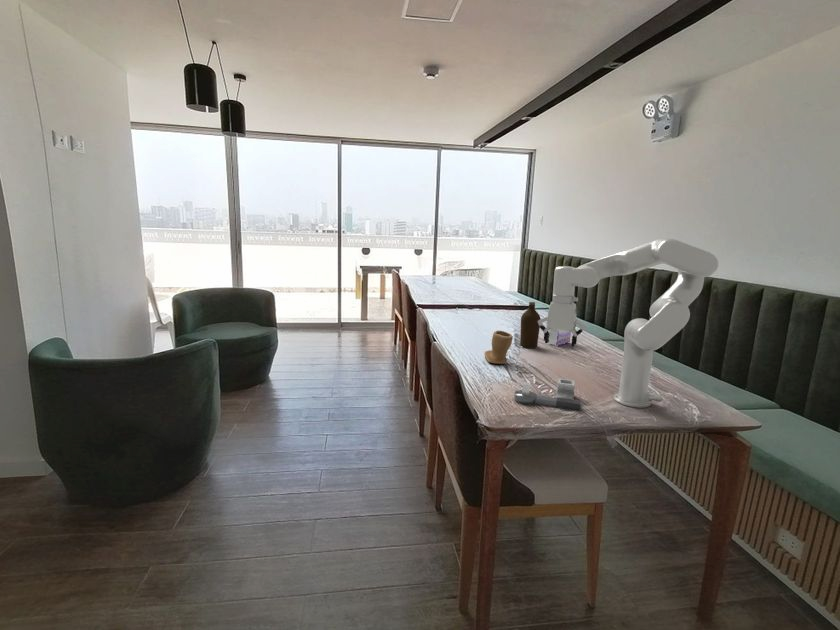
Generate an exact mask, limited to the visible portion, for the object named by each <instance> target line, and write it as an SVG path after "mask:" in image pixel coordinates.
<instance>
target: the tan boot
mask: <svg viewBox="0 0 840 630" xmlns="http://www.w3.org/2000/svg"><path fill="white" fill-rule="evenodd" d="M513 337H514V336H513V335H512V333H510V332H507V331H505V330H495V331H494V332H493V334H492V337H491V350H485V351H484V356H485V359H486V360H487V361H488V362H489V363H492V364H494V365H497V364H499V365H504V364H507V362H508V359H507V354H508V351H509V349H510V347H511V346H512V344H513V339H514V338H513Z"/></svg>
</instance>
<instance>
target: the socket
mask: <svg viewBox="0 0 840 630" xmlns="http://www.w3.org/2000/svg"><path fill="white" fill-rule="evenodd" d="M556 385H557V386H556V397H555V398H557V397H559V398H566V399H573V400H574V396H575V387H576V383H575V380H574V379H573V380H572V379H568V378H567V379H565V378H557V384H556Z"/></svg>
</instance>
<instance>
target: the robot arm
mask: <svg viewBox="0 0 840 630" xmlns="http://www.w3.org/2000/svg"><path fill="white" fill-rule="evenodd" d="M662 264H665V265H668V266H669V267H672V268H675V269H677V278H676V279H675V282H674V283H673V284H672V285H671V286H670V287H669V288H668V289H667V290H666V291H665V292H664V293H663V294H662V295H661V296H659V297H658V298H656V300H655V301H653V303H652V304H651V306H650V307H649V315H650V317H651V318H649V320H648V319H646V318H642V317H640V318H638V317H637V318H633V319H632V320H630V321H628V323H627V324H626V326H625V329H624V333H623V334H624V336H623V338H624V339H623V342H624V344H623V345H624V346H623V348H624V349H623V356H622V363H621V365H622V366H621V371H620V378H619V379H620V381H619V386H618V387H619V389H618V392H617V393H614V395H613V400H615V402H617V403H618V404H621V405H624V406H627V407H632V408H639V409H641V408H643V409H644V408H648V407H650V406H651V405H652V402H653V401H655V402H661V403H662V399H663V397H662V396H661V395H657V394H655V393H650V392H649V385H650V380H651V379H650V378H651V371H652V364H653V356H654V351H656V350H658V349H660V348H662V347H663V346H664V345H665V344H667V343H668V342H669V341H670V340H671V339H672V338H673V337H675V336H676V335H677V334H678V333H680V331H682V329H684V327H686V325H687V323H688V322H689V320H690V318H691V312H690V309H689V306H690V305H691V304H692V303H693V302H694V301H695V300H696V299H697V298H698V297H699V295H700V294H701V292H702V290H703V287H704V284H705V283H704V282H705V278H706V277H707V278H708V277H710V276H712V275H714V274H715V272H716V271H717V270H718V269H719V268H718V267H719V260H718V258H717V257H716V255H715V254H713V253H711V252H710V251H707V250H704V249H702V248H699V247H696V246H693V245H691V244H688V243H686V242H683V241H681V240H678V239H674V238H659V239H655V240H652V241H649V242H645V243H644V244H640V245H638V246H636V247H632V248H629V249H626V250H623V251H620V252H617V253H613V254H612V255H608V256H605V257H602V258H598V259H595V260H593V261H590V262H587V263H584V264H581V265H579V266H578V267H574V266H569V265H567V266H566V265H561V266H559V265H558V266H556V267H555V268H554V274H553V288H552V301H550V304H549V307H548V312H547V316H546V317H543V318H541V319H540V320H538V324H539V326H540V330H541V331H542V332H543V341H544V343H545V344H548V342H549V331H550V329H556V330H565V331H571V334H572V336H571V347H572V348H573V347H575V345H577V343H578V340H577V339H578V336H579V335H580V334H582V332H583V331H584V329H585V328H586V327H587V324H585V323H583V322H581V321H580V320H579V319H577V305H576V303H575V302H579V297H576V296H575V291H576V290H575V288H576V287H580V288H586V289H588V288H589V289H590V288H593V287H595V286H596V285H598V283H599V282H600V280H603V279H606V278H609V277H610V278H611V277H615V276H627V275H632V274H635V273H638V272H640V271H643V270H646V269H650V268H652V267H656V266H658V265H662ZM544 322H546V327H545V325H544V324H543V323H544ZM576 326H579V327H580V328H579V329H578V330H577V329H576Z"/></svg>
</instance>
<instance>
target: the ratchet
mask: <svg viewBox="0 0 840 630" xmlns="http://www.w3.org/2000/svg"><path fill="white" fill-rule="evenodd" d="M530 387H531V382H522V387H521V390H520V389H519V390H516V391H514V397H513V399H514V400H513V401H514V402H516V403H517V404H521V405H526V406H531V405H541V406H547V407H555V408H559V409H566V410H573V411H582V407H583V406H582V405H583V403H582V401H581V400H579V399H574V398H573V399H566V398H559V397H557V396H556V397H557V398H556V397H551V396H545V395H538V394H537V393H535V392H534V391H531V388H530Z"/></svg>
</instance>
